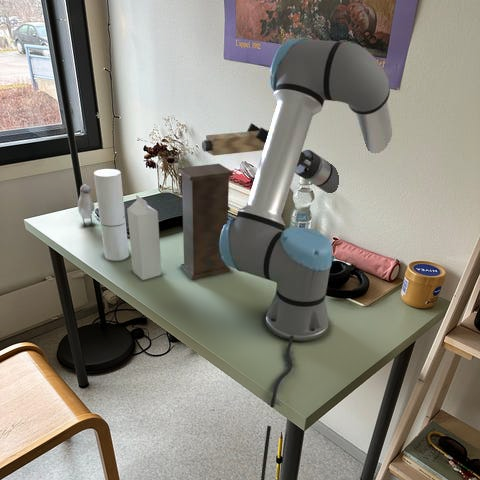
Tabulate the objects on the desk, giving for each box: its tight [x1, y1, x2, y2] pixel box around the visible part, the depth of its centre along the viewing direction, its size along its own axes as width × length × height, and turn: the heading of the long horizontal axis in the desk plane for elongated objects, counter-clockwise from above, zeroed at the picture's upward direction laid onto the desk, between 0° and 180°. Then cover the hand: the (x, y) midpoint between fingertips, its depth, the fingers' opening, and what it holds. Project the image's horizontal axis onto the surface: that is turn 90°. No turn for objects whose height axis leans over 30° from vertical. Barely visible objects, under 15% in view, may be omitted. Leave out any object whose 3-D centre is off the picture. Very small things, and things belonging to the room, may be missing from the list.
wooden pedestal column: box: [177, 163, 234, 281], centre depth 129 cm, size 12×8×29 cm, turn 119°
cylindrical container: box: [93, 168, 130, 262], centre depth 136 cm, size 7×7×25 cm
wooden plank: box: [201, 129, 270, 156], centre depth 122 cm, size 24×4×4 cm, turn 119°
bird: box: [77, 183, 96, 228], centre depth 156 cm, size 5×14×15 cm, turn 29°
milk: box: [126, 195, 162, 281], centre depth 128 cm, size 6×6×22 cm
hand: (254, 130), depth 122 cm, fingers closed on wooden plank, 4 cm apart
